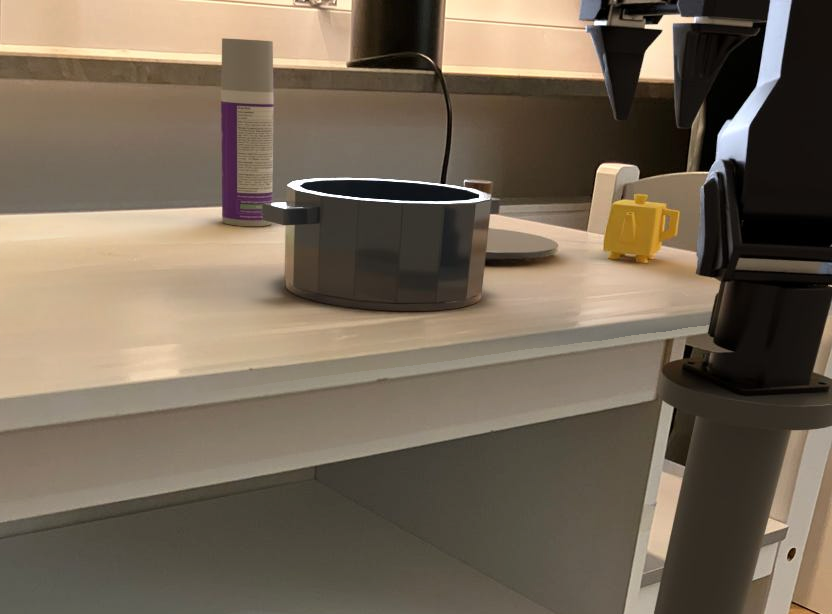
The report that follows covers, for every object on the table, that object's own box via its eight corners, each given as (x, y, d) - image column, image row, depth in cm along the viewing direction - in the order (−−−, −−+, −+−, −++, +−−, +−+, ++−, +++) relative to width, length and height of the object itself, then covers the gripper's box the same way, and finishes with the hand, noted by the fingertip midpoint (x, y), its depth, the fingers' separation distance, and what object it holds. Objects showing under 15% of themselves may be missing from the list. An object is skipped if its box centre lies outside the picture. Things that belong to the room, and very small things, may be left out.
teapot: (661, 269, 88) (673, 202, 85) (593, 260, 90) (603, 195, 87) (678, 257, 94) (690, 194, 91) (614, 249, 96) (624, 188, 93)
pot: (548, 297, 74) (561, 198, 71) (335, 323, 64) (340, 208, 60) (419, 265, 83) (426, 176, 80) (215, 283, 73) (214, 181, 69)
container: (217, 218, 100) (215, 38, 93) (265, 219, 102) (267, 41, 94) (227, 226, 96) (226, 38, 89) (277, 226, 98) (280, 41, 91)
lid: (592, 260, 90) (603, 189, 87) (469, 271, 82) (477, 194, 79) (473, 234, 100) (479, 170, 97) (353, 243, 92) (356, 173, 89)
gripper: (865, -110, 74) (807, 136, 81) (705, -84, 89) (669, 121, 97) (732, -127, 70) (685, 131, 78) (590, -98, 86) (562, 116, 93)
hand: (651, 124), depth 87 cm, fingers open, 9 cm apart
